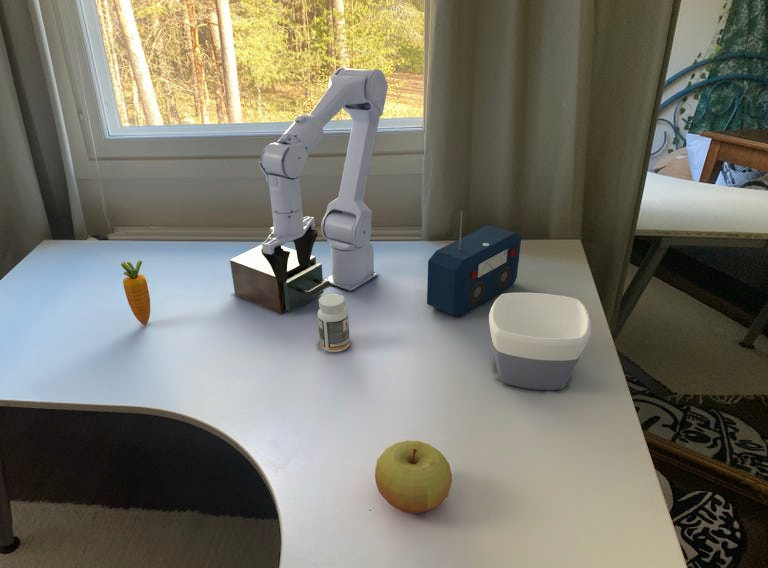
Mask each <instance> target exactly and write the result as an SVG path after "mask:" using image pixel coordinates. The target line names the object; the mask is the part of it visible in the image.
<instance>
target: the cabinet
mask: <svg viewBox="0 0 768 568" xmlns="http://www.w3.org/2000/svg"><path fill="white" fill-rule="evenodd" d="M281 248H283V250H284V251H289V252H290V255H289V258H288V264H287V275H289V274H291V273H293V272H295V271H296V270H298V269H300V268H302V267H304V266H302V265H299V263H298V259H297V253H296V249H294V248H289V247H287V246H284V245H282V246H281ZM261 249H262V244H260V245H258V246H255V247H254V248H252V249H249V250H247V251H246V252H242V253H241V254H239V255H237V256H235V257H233V258H230V259H229V262H230V264H229V265H230V270H231V277H232V285H233V290H234V295H235V296H238V297H240V298H242V299H245V300H246V301H249V302H251V303H254V304H256V305H258V306H261V307H263V308H265V309H268V310H270V311H272V312H275V313H277V314H280V315H282V314H284V313H285V312H287V311H286V305H285V306H283V303H282V293H281V284H280V281H277V280H276V277H275V275H274V272H273V270H272V268H271V266H270V264H269V262H268V261H267V260H266V258H265V257H264V256H263V255H262V252H261ZM310 263H311V266H313V265H315V264H317V257H316V256H315V255H312V254H311V258H310Z"/></svg>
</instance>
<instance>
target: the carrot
mask: <svg viewBox="0 0 768 568" xmlns="http://www.w3.org/2000/svg"><path fill="white" fill-rule="evenodd" d="M142 264H143V261H142V260H138V261H137V263H136V265H135V267H134V265H133V263H132V262H131V261H130V260H129V261H127V262H125V261H122V262H121V263H120V266H121V267H122V268H123V269H124V270H125V271H124V272H123V273H122V274H123V275H125V276H126V277H125V278H123V280H122V284H123V289H124V293H125V296H126V300H127V303H128V305H129V307H130V310H131V311H132V313H133V315H134V317H135V318H136V319H137V321H138V322H139V323H140V324H141V325H142V326H146V325H148V324H149V320H150V316H151V298H150V292H149V287H148V282H147V278H146V276H145V275H144V274H139V273H140V268H141V266H142Z"/></svg>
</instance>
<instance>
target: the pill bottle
mask: <svg viewBox="0 0 768 568" xmlns="http://www.w3.org/2000/svg"><path fill="white" fill-rule="evenodd" d="M345 299H346V298H345V297H344V296H343V295H342V294H339V293H327V294H323V295H322V296H321V297H319V299H318V307H319V309H318V311H317V327H318V335H319V336H318V338H319V345H320V348H321V349H322V350H324V351H325V352H329V353H339V352H343V351H345V350H346V349H348V347H349V346H350V344H351V337H350V322H349V311H348V308H347V307H346V306H345V305H346V301H345Z"/></svg>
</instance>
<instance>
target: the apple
mask: <svg viewBox="0 0 768 568" xmlns="http://www.w3.org/2000/svg"><path fill="white" fill-rule="evenodd" d="M452 475H453V474H452V470H451V465H450V463H449V461H448V460H447V458H446V457H445V456H444V455H443V453H442V452H441V451H440V450H438V449H437V448H436V447H434V446H432V445H431V444H429V443H428V442H427V443H426V442H423V441H420V440H403V441H398V442H396V443H394V444H392V445H390V446H388V447H387V448H385V450H384V451H383V452H382V453H381V454H380V456H379V457H378V458H377V460H376V466H375V471H374V479H375V484H376V487H377V490H378V493H379V494H380V495H381V497H382V498H383V499H384V500H385V501H386V502H387V503H388V504H389V505H390V506H392V507H393V508H396V509H398V510H400V511H401V512H404V513H405V512H406V513H410V514H421V513H426V512H428V511H431V510H434V509H436V508H438V506H440V505H441V504H442V503H443V502H444V501H445V500H446V498H448V496H449V493H450V490H451V487H452V482H453V479H452V478H453V476H452Z"/></svg>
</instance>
